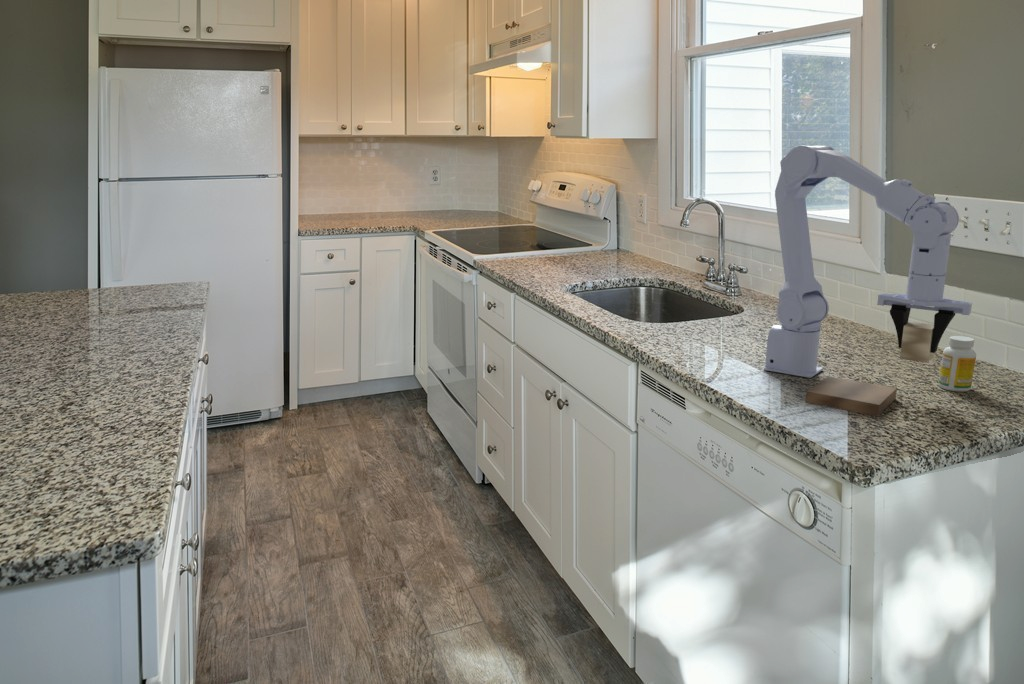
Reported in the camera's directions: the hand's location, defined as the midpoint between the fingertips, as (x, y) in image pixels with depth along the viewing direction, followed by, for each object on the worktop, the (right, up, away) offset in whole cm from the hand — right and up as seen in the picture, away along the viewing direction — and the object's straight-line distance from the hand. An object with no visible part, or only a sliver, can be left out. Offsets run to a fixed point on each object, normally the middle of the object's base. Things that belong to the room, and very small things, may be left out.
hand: (917, 349), depth 138 cm
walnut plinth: (-12, -9, 0) cm, 15 cm away
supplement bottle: (+11, -8, +8) cm, 15 cm away
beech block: (0, -2, 0) cm, 2 cm away
